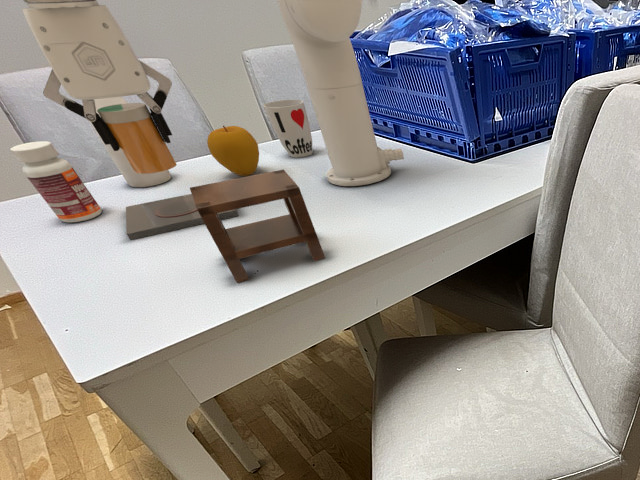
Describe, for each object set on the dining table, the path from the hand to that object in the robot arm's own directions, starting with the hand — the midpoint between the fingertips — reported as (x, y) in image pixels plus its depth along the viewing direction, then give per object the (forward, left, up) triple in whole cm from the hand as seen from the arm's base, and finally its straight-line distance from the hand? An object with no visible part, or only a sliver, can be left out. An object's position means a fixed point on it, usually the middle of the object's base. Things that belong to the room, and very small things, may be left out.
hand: (142, 143), depth 71 cm
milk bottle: (+4, -24, -11) cm, 27 cm away
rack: (-10, +28, -11) cm, 32 cm away
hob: (0, 0, -11) cm, 11 cm away
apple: (-13, -17, -11) cm, 24 cm away
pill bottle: (+15, -10, -11) cm, 21 cm away
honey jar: (0, 0, -4) cm, 4 cm away
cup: (-26, -24, -11) cm, 37 cm away
